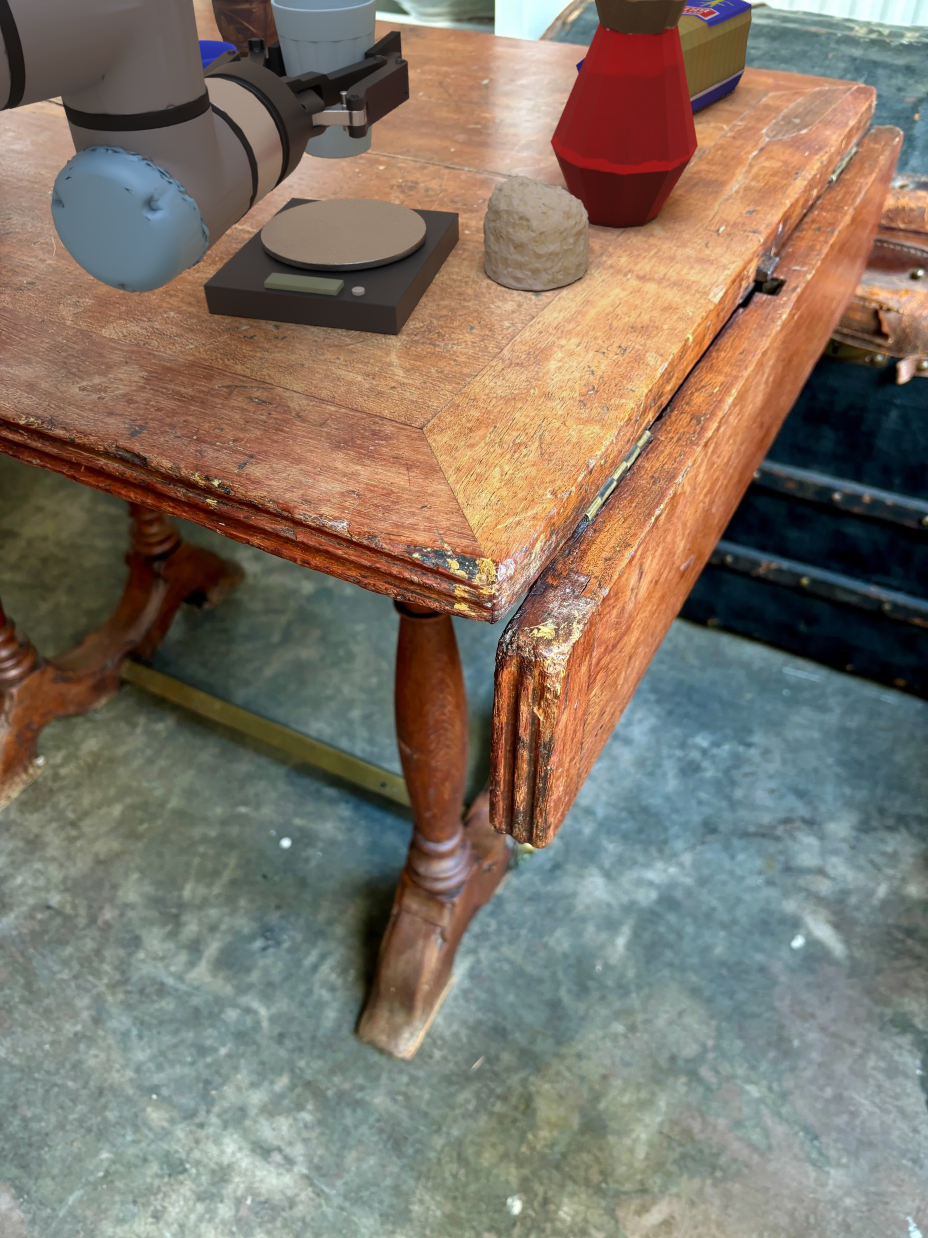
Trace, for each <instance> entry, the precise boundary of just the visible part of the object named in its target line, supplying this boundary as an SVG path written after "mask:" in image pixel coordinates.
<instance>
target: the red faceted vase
mask: <svg viewBox="0 0 928 1238" xmlns="http://www.w3.org/2000/svg"><path fill="white" fill-rule="evenodd" d="M687 1H688V0H594V3H595V8H596V12H597V16H598V21H599V23H598V25H597V28H596V30H595V32H594V35H593V38H592V40H591V42H590V44H589V47H588V49H587V52H586V54H585V57H584V58H585V59H584V58H583V59H584V62H583V64H582V66H581V69H580V71H579V73H578V74H577V77H576V79H575V81H574V83H573V86H572V89H571V91H570V93H569V96H568V98H567V100H566V103H565V105H564V107H563V110H562V112H561V114H560V118H559V119H558V122H557V125H556V127H555V130H554V131H553V134H552V137H551V139H550V144H551V147H552V150H553V152H554V155H555V158H556V160H557V163H558V166H559V168H560V171H561V174H562V177H563V179H564V182H565V185H566V187H567V189H568V192H569V193H570V194H571V195H574V197H575V198H577V199H579V200H581V202H582V203H583V206H584V208H585V210H586V211H587V213H588V217H587V218H588V221H589V224H591V225H596V226H601V227H607V228H614V229H621V228H620V227H624V228H631V227H630V226H635V227H643V226H646V225H647V224H650V222H652V221H654V220H656V219H657V217H658V215H659V213H660V212H661V211H662V209H663V207H664V205H665V203H666V202H667V200H668V198H669V196H670V195H671V193H672V192H673V190H674V189H675V187H676V185H677V184H678V181H679V180H680V178H681V177H682V175H683V173H684V171H685V170H686V168H687V167H688V165H689V163H690V161H691V160H692V158H693V156H694V154H695V152H696V150H697V149H698V146H699V144H698V138H697V131H696V126H695V120H694V113H693V114H692V108H691V101H690V95H689V89H688V83H687V77H686V71H685V65H684V59H683V53H682V47H681V41H680V35H679V29H678V22H679V20H680V17H681V15H682V13H683V10H684V8H685V6H686V4H687ZM642 225H643V226H642Z"/></svg>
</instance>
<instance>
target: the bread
mask: <svg viewBox="0 0 928 1238" xmlns="http://www.w3.org/2000/svg"><path fill="white" fill-rule="evenodd" d="M752 6H753V5H752V3H750V2H747V1H745V0H688V1H687V4H686V6H685V8H684V10H683V13H682V15H681V17H680V20H679V22H678V29H679V35H680V41H681V47H682V53H683V59H684V65H685V71H686V77H687V83H688V89H689V95H690V101H691V108H692V114H693V115H694V114H695V113H698V112H699V111H701V110H703V109H704V108H706V107H708V106H710V105H712V104H713V103H715V102H717V101H719V100H720V98H721V99H722V98H724V97H726V96H728V95H729V93H730V94H731V93H733V92H734V91H735V90H736V88H737V87H738V85H739V83H740V81H741V79H742V77H743V75H744V72H745V70H746V69H745V68H746V56H747V48H748V42H749V41H748V40H749V34H750V29H751V26H752V21H753V18H752ZM584 59H585V57H583V58H582V59H581V60H580V61H579V62H578V63H576V64H575V68H576V70H577V73H578V74H579V71H580V69H581V66H582V64H583V62H584ZM732 91H733V92H732ZM727 94H728V95H727ZM725 95H726V96H725ZM723 96H724V97H723ZM718 99H719V100H718ZM711 103H712V104H711ZM709 104H710V105H709ZM702 108H703V109H702Z"/></svg>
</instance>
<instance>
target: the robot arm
mask: <svg viewBox="0 0 928 1238" xmlns="http://www.w3.org/2000/svg"><path fill="white" fill-rule="evenodd" d="M401 33H402V32H401V31H400V30H391V31H390V32H388V33H387V34H386V35H384V36H383V37H382V38H381V39H380V40H378V41H377V42H375V45H374V46H373V47H371V48H370V49H368V50H367V51H366V52H365V60H363V61H360V62H357V63H355V64H352V65H349V66H346V67H344V68H341V69H338V70H335V71H333V72H330V73H327V74H323V73H318V72H313V71H310V72H307V73H304V74H301V75H298V76H295V77H288V76H287V74H286V70H285V65H284V60H283V56H282V51H281V46H280V42H279V40H277V41H276V42H274V43H273V44H271V45H270V46H268V47H267V48H266V49H265V45H264V39H262V38H252V39H248V47H249V55H248V57H243V58H240V52H239V51H235V50H233V49H230V50H228V51H225V52H224V53H222V54H221V55H220V56H219V57H218V58H217V59H215V60H214V61H213V62H212V63H211V64H209V65H208V66H207V67H206V68H205V69H204V70H203V66H202V59H201V53H200V46H199V40H200V39H199V33H198V27H197V20H196V12H195V7H194V0H0V112H4V111H6V110H12V109H13V110H14V109H17V108H21V107H25V106H28V105H33V104H36V103H40V102H44V101H48V100H52V99H56V98H60V99H61V102H62V106H63V109H64V114H65V117H66V120H67V124H68V128H69V132H70V135H71V138H72V142H73V146H74V149H75V154H74V155H73V156H72V157H71V159H68V160H67V161H66V164H65V165H64V166H63V168H62V169H61V170H59V172H58V174H57V175H56V178H55V179H54V184H53V188H52V193H51V203H50V213H51V217H52V221H53V226H54V228H55V231H56V233H57V236H58V238H59V240H60V241H61V243H62V245H63V247H64V248H65V249H66V251H67V253H68V254H69V255H70V257H71V258H72V259H73V261H74V262H75V263H77V264H78V266H79V267H80V268H81V269H83V270H84V271H85V272H86V273H87V274H89V276H91V277H92V278H94V279H95V280H97V281H98V282H101V283H102V284H104V285H106V286H108V287H111V288H114V289H117V290H121V291H123V292H128V293H131V294H134V293H148V292H153V291H155V290H158V289H159V290H160V289H161V288H163V287H165V286H166V285H167V284H169V283H170V282H171V281H173V280H174V279H176V278H177V277H179V276H180V275H181V274H182V273H184V272H185V271H187V270H190V269H192V268H194V267H196V266H197V265H198V264H200V262H201V261H202V260H203V259H204V258H205V257H206V254H207V253H208V252H209V251H210V250H211V249H212V248H213V247H214V245H215V244H216V243H218V242H219V240H220V239H221V238H222V237H223V236H224V235H225V234H226V233H227V231H229V230H230V229H231V228H232V227H233V226H234V225H236V224H238V223H239V222H240V221H241V220H242V218H244V217H245V216H246V215H247V214H248V213H249V211H250V210H252V209H253V208H254V207H255V206H256V205H257V204H258V203H260V202H261V201H262V200H263V199H264V198H265V197H267V195H269V194H270V193H271V192H272V191H274V190H275V189H276V188H277V187H278V186H280V185H281V183H283V182H284V181H285V180H286V179H287V178H288V177H290V175H291V174H292V173H293V172H294V171H295V170H296V169H297V167H298V166H299V164H300V163H301V161H302V159H303V156H304V154H305V152H304V151H305V149H306V146H307V143H308V141H309V139H311V138H313V137H316V136H319V135H321V134H323V133H324V132H325V131H326V129H327V128H328V127H329V126H343V130H344V131H345V132H349V137H352V138H356V139H359V138H362V137H365V136H366V135H367V132H368V128H369V127H370V126H371V125H372V126H373V125H374V124H376V123H377V122H379V121H380V120H381V119H383V118H384V117H386V116H387V115H388V114H390V113H391V112H392V111H394V110H395V109H397V108H398V107H400V106H401V105H403V104H404V103H405V102H407V101H408V100H409V99H410V79H409V78H410V77H409V76H410V75H409V61H408V60H406V59H404V58H403V51H402V34H401Z"/></svg>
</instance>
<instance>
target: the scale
mask: <svg viewBox="0 0 928 1238" xmlns="http://www.w3.org/2000/svg"><path fill="white" fill-rule="evenodd" d="M323 200H324V199H323ZM323 200H321V199H312V198H311V199H310V198H302V197H301V198H300V197H291V198H290V199H289V200H288V201H287V202H286V203H285V204H284V205H283V206H282V207H281V208H280V209H279V210H278V211H277V212H275V214H274V215H273V216H272V217H271V218H273V217H274V216H276V215H277V214H279V213H281V212H283V211H285V210H288V209H291V208H293V207H296V206H299V205H303V204H307V203H311V202H317V201H323ZM409 209H411V210H413V211H414V212H416V213H417V214H418V215H420V216H421V217H422V219H423V220H424V222H425V224H426V238H425V240H424V242H423V244H422V245H421V246H420V247H419V248H418V249H417V250H416V251H415V252H413V253H411V254H410V255H408V256H406V257H404V258H402V259H400V260H397V261H394V262H391V263H388V264H385V265H381V266H376V267H372V268H365V269H358V270H345V271H325V270H313V269H306V268H301V267H296V266H292V265H289V264H286V263H284V262H281V261H279V260H277V259H275V258H273V257H272V256H271V255H269V254H268V253H267V252H266V251H265V249H264V247H263V245H262V240H261V231H262V229H263V227H264V225H263V226H262V227H261V228H260V229H258V231H257V232H255V234H254V235H252V237H250V238H249V239H248V241H247V242H245V244H243V245H242V246H241V247H240V248H239V249H238V250H237V252H235V253H234V254H233V255H232V256H231V257H230V258H229V259H228V260H227V261H226V262H225V263H224V264H223V265H222V266H221V267H219V269H218V270H217V271H216V272H215V273H214V274H213V275H212V276H211V277H209V279H208V280H207V281H206V282H205V283H204V284H203V290H204V296H205V300H206V305H207V310H208V314H214V315H225V316H233V317H241V318H248V319H258V320H265V321H275V322H283V323H292V324H293V323H294V324H301V325H309V326H318V327H325V328H326V327H327V328H335V329H344V330H351V331H360V332H368V333H378V334H386V335H387V334H388V335H395V336H396V335H398V334H399V333H400V331H401V330H402V328H403V327H404V325H405V323H406V322H407V320H408V319H409V317H410V316H411V314H412V313H413V311H414V309H415V308H416V306H417V305H418V303H419V302H420V300H421V298H422V297H423V295H424V294H425V292H426V291H427V289H428V287H429V286H430V285H431V283H432V282H433V280H434V278H435V277H436V275H437V274H438V273H439V271H440V270H441V268H442V266H443V265H444V263H445V261H446V260H447V258H448V257H449V255H450V254H451V252H452V250H454V247H455V246H456V244H457V243H458V241H459V240H460V214H459V212H451V211H441V210H432V209H419V208H410V207H409Z"/></svg>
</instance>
